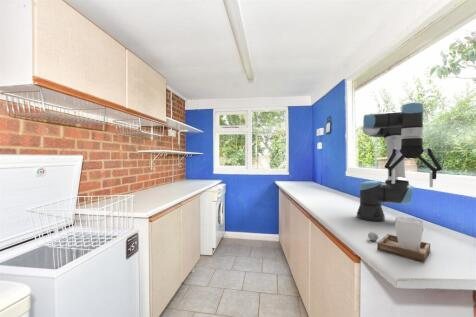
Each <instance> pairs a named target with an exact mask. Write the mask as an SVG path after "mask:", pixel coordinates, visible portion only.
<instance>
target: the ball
mask: <svg viewBox="0 0 476 317" xmlns="http://www.w3.org/2000/svg"><path fill="white" fill-rule="evenodd" d="M367 236H368V239H369V240H370V241H372V242H375V241H377V240H378V239H379V235H378V233H377V232H375V231H370V232H368V234H367Z"/></svg>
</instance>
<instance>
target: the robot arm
mask: <svg viewBox="0 0 476 317" xmlns="http://www.w3.org/2000/svg"><path fill="white" fill-rule="evenodd" d="M362 123H363V124H362V132H363V133H364V134H365V135H367V136H369V137H372V138H383V141H384V142H386V160H387V162H386V163H385V165H384V169H387V179H385V181H384V182H385V183H384V182H382V181H381V180H368V181H367V180H366V181H362V182H361V183H360V184H359V207H358V209H357V212H356V217H357V218H358V219H361V220H365V221H370V222H384V221H385V220H386V216H385V212H384V210H383V208H382V203H384V204H385V203H386V204H387V203H389V204H396V205H397V204H399V205H408V204H410V203H411V202H412V199H413V193H414V188H413V187H414V186H413V185H412V184H410V182H409V181H410V180H408V179H407V178H406V170H405V169H406V167H405V159H408V160H409V159H419V160H420V161H421V162H422V163H423V164H424V165H426V167H427V168H428V169H429V170H431V171H429V188H433V187H434V180H437V172H439V171H442V170H443V167H442V165H441V164H440V162H439V161H438V159H437V157H436V156H435V155H434V151H433V148H429V147H428V148H423V144H424V140H423V136H424V134H423V132H424V125H423V123H424V104H423V103H422V102H419V101H416V102H415V101H414V102H408V103H404V104H402V106H401V110H400V111H390V112H379V113H370V114H369V113H368V114H364V115H363V122H362ZM423 153H426V154H427V155H428V157H429V158H430V160H431V161H432V163H433V164H434V165H433V164H431V163H430V162H429V161H428V160H427V159H426V158H425V157H424V156H423Z"/></svg>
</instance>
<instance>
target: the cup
mask: <svg viewBox="0 0 476 317" xmlns="http://www.w3.org/2000/svg"><path fill="white" fill-rule="evenodd" d="M394 225H395V232H396V236H397V239H398V245H399V247H400V248H404V249H408V250H412V251H416V252H419V250H420V244H421V242H422V240H423V238H422V237H423V233H424V224H423V220H421V219H417V218H414V217H413V218H412V217H406V216H398V217H397V216H396V217H395V223H394Z"/></svg>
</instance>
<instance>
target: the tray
mask: <svg viewBox="0 0 476 317" xmlns="http://www.w3.org/2000/svg"><path fill="white" fill-rule="evenodd" d="M376 247H377V249H376V250H377V251H381V252H384V253H388V254H390V255H395V256H398V257H402V258H405V259H410V260H413V261H417V262H420V263H425V262H426V260H427V258H428V256H429V254H430V252H431V243H429V242H425V241H421V244H420V250H419V252H416V251H412V250H408V249H404V248H400V247H399V245H398V239H397V235H394V234H390V233H387V234H386V235H385V236H384V237H382V238H381V239H380V240H379V241H378V242H377V246H376Z"/></svg>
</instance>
